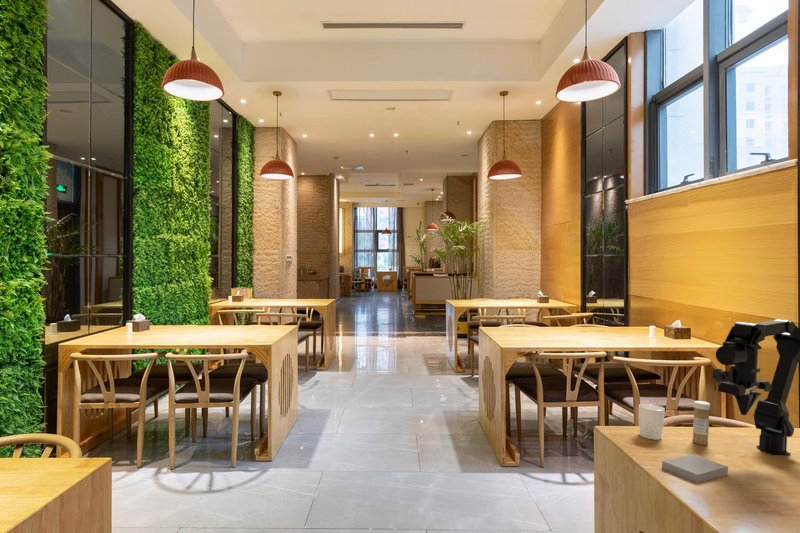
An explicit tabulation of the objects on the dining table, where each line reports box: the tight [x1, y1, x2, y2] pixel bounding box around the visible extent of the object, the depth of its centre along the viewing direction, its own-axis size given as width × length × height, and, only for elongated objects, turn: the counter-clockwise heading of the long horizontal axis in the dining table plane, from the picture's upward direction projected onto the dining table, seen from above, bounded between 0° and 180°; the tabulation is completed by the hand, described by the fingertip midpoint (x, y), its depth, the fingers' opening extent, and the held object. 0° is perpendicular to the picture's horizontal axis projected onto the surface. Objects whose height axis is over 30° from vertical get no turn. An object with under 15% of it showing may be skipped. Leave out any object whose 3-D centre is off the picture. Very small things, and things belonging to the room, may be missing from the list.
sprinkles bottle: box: [691, 400, 711, 446], centre depth 164 cm, size 5×5×14 cm
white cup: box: [638, 403, 666, 441], centre depth 169 cm, size 8×8×10 cm
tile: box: [661, 453, 729, 484], centre depth 140 cm, size 3×10×14 cm
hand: (743, 414), depth 152 cm, fingers closed
